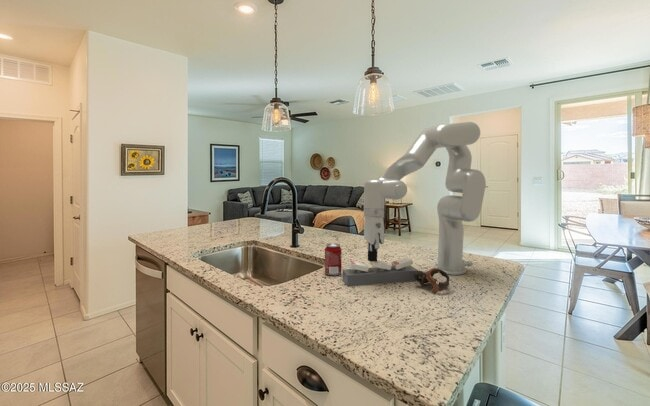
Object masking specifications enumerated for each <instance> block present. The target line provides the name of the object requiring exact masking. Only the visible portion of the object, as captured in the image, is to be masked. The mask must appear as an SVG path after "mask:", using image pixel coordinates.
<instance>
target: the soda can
mask: <svg viewBox="0 0 650 406" xmlns="http://www.w3.org/2000/svg"><path fill="white" fill-rule="evenodd" d="M324 272H325V274H327V275H329V276H333V277H334V276H339V275H340V274H341V273H342V248H341V245H340V243H336V242H335V243H333V242H332V243H327V244H326V247H325V248H324Z"/></svg>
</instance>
